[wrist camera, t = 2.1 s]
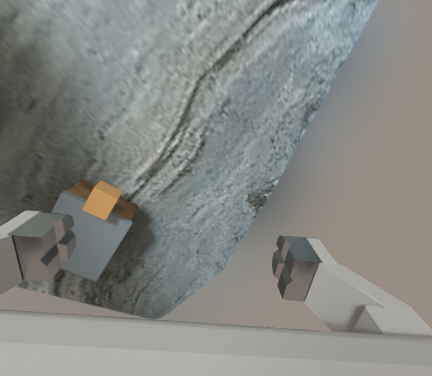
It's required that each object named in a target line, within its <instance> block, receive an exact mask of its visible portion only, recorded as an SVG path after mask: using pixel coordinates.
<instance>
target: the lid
mask: <svg viewBox="0 0 432 376" xmlns="http://www.w3.org/2000/svg"><path fill="white" fill-rule="evenodd" d="M122 192H123V191H121V190H119V189H117V188H115V187H113V186H111V185H109V184H107V183H105V182H103V181H101V180H100V182H99V183H98V184H97V185H96V186H95V187H94V188H93V190H92V192H91V194H90V196H89V197H88V199H87V200H85V199H83V198H81V197H79V196H77V195H75V194H72V193H70V192H68V191H66V190H63V191H62V192H61V194H60V196H59V198H58V200H57V202H56V204H55V206H54V208H53V210H52V212H51V213H58V214H67V215H71V216H72V217H73V220H74V226H73V227H72V229H71V230H72V232H73V233H74V234H75V235H76V246H75V249H74V251H73V254H72V255H71V256H70V258H69V259H68V260H66V261H64V262H61V263H60V265H61V268H60V269H63V270H65V271H68V272H71V273H74V274H77V275H79V276H82V277H85V278H88V279H90V280H93V281H97V279H98V278H99V276H100V274H101V273H102V271H103V270H104V268H105V266H106V265H107V263H108V262H109V260H110V258H111V257H112V255H113V254H114V252H115V250H116V249H117V247H118V246H119V244H120V243H121V241H122V239H123V238H124V236H125V235H126V233H127V231H128V230H129V228H130V227H131V225H132V223H133V222H132V221H130V220H128V219H126V218H124V217H122V216H119V215H117V214H115V213H113V212H111V211H112V209H113V207H114V205H115V204H116V202H117V200H118V199H119V197H120V195H121V194H122Z"/></svg>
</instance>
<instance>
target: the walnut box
mask: <svg viewBox="0 0 432 376" xmlns="http://www.w3.org/2000/svg"><path fill="white" fill-rule="evenodd" d="M95 186H96V185H94V184H92V183H90V182H88V181H86V180H84V179H82V178H81V179H80V180H79V181H78V182H76V183H75V184H74V185H73V186H72V187H70V188H69V189H68V190H67V191H68V192H70V193H72V194H75V195H77V196H79V197H81V198H83V199H85V200H87V199H88V197H89V196H90V194H91V192H92V190H93V188H94V187H95ZM136 208H137V206H136V205H134V204H132V203H130V202H128V201H126V200H124V199H122V198H120V197H119V199H118V200H117V202H116V204H115V205H114V207H113V209H112V211H111V212H113V213H115V214H117V215H119V216H122V217H124V218H126V219H128V220H130V221H132V218H133V216H134V213H135V211H136Z"/></svg>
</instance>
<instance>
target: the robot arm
mask: <svg viewBox="0 0 432 376" xmlns="http://www.w3.org/2000/svg"><path fill="white" fill-rule="evenodd" d="M73 226H74V220H73V217H72V216H71V215H67V214H58V213H50V212H41V211H24V212H22V213H21V214H19V215H18V216H16V217H15V218H13V219H11V220H10V221H8V222H7V223H5V224H4V225H2V226H1V227H0V294H2V293H4V292H5V291H7V290H9V289H11V288H12V287H14V286H16V285H18V284H19V283H21V282H23V280H28V281H50V280H51V279H52V278H53V277H54V275H55V274H56V273H57V272H58V271H59V269H60V268H61V265H60V263H61V262H64V261H66V260H68V259H69V258H70V256H71V255H72V254H73V251H74V249H75V246H76V235H75V234H74V233H73V232H72V230H71V229H72V227H73ZM276 244H277V247H278V250H277V251H276V252H274V255H273V259H272V268H273V274H274V276H275V277H276V278H277V279H278V280H279V282H278V288H279V291H280V293H281V296H282V299H286V300H296V301H305V304H306V305H307V306H308V307H309V308H310V309H311V310H312V311H313V312H314V313H315V314H316V315H317V316H318V317H319V318H320V319H321V320H322V321H323V322H324V323H325V324H326V325H327V326H328V327H329V328H330V329H331V331H319V330H302V329H287V328H273V327H258V326H243V325H229V324H214V323H198V322H184V321H168V320H153V319H137V318H122V317H106V316H91V315H75V314H60V313H45V312H29V311H14V310H0V376H432V330H431V329H430V328H429V326H428V325H427V324H426V323H425V322H424V321H423V320H422V319H421V318H420V317H419V316H418V315H417V314H416V313H415V311H414V310H413V309H412V308H411V307H409V306H408V305H406V304H405V303H403V302H401V301H400V300H398V299H396V298H395V297H393V296H391V295H390V294H388V293H386V292H385V291H383V290H382V289H380V288H378V287H377V286H375V285H373V284H372V283H370V282H369V281H367V280H365V279H364V278H362V277H360V276H359V275H357V274H356V273H354V272H352V271H351V270H349V269H347V268H346V267H344V266H342V265H340V264H336V262H335V261H334V259H333V258H332V257H331V256H330V254H329V253H328V251H327V250H326V249H325V247H324V246H323V245H322V243H321V242H320V241H319V239H317V238H310V237H293V236H279V238H278V240H277V243H276Z"/></svg>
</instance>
